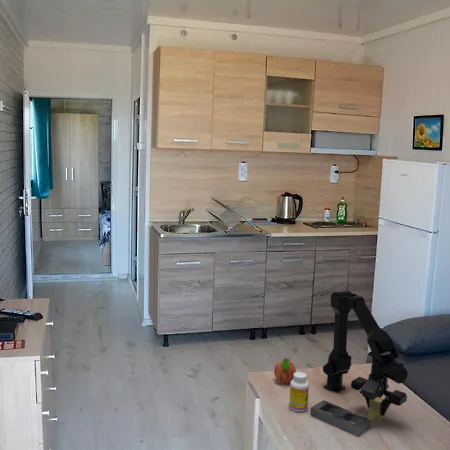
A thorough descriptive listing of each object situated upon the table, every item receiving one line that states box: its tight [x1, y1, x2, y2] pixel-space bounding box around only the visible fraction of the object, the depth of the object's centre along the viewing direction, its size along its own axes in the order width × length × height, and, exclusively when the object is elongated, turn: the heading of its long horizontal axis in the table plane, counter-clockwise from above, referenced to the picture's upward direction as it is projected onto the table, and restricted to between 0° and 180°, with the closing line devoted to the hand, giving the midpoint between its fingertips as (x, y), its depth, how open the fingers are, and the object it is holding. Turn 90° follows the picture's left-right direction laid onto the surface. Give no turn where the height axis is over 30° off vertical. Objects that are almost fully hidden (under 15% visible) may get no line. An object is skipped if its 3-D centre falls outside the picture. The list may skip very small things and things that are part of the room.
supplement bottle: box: [288, 371, 310, 413], centre depth 190 cm, size 7×7×13 cm
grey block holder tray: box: [309, 399, 372, 437], centre depth 183 cm, size 8×19×3 cm, turn 46°
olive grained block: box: [368, 396, 386, 423], centre depth 186 cm, size 4×4×7 cm
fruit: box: [273, 357, 297, 384], centre depth 212 cm, size 9×10×10 cm
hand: (376, 413), depth 186 cm, fingers open, 5 cm apart
